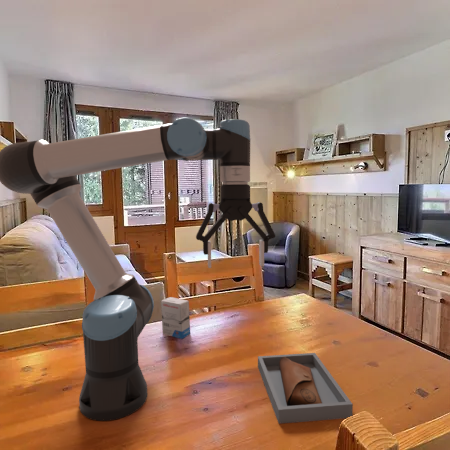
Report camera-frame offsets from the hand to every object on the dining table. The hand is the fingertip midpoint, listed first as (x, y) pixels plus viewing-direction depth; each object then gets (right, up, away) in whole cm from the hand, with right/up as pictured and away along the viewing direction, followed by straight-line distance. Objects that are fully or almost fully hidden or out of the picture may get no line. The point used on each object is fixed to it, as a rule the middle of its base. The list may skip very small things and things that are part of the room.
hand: (235, 266), depth 92 cm
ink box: (-19, -26, +27) cm, 42 cm away
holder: (+15, -29, -6) cm, 33 cm away
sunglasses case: (+15, -29, -6) cm, 33 cm away
